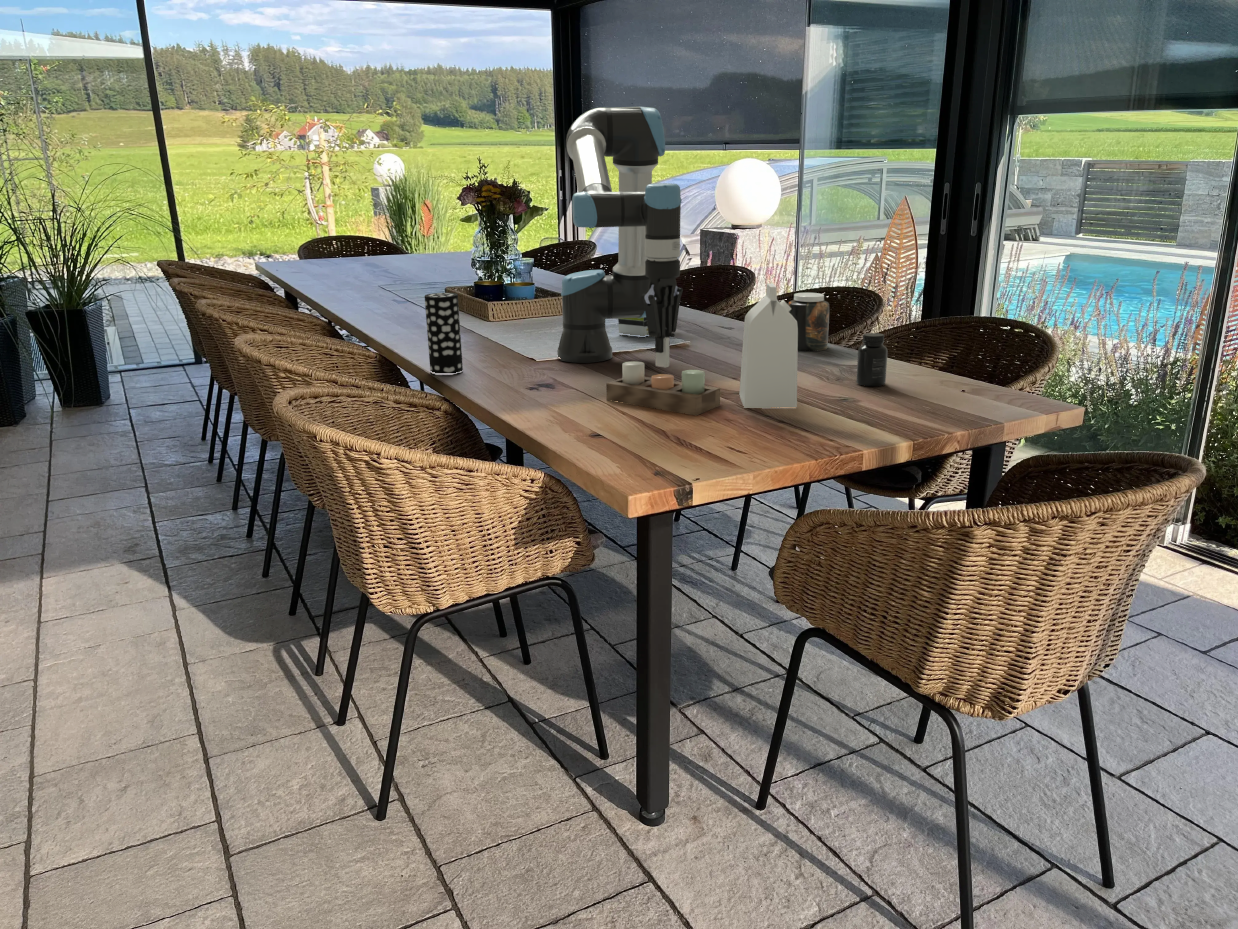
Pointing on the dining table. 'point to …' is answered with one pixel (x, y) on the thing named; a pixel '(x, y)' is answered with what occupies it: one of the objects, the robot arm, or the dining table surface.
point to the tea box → (633, 326)
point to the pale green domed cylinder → (693, 381)
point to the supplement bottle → (872, 360)
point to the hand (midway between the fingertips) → (662, 365)
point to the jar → (811, 320)
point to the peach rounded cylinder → (662, 381)
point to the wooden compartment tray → (663, 397)
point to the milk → (769, 354)
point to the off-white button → (633, 373)
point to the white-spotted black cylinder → (443, 332)
